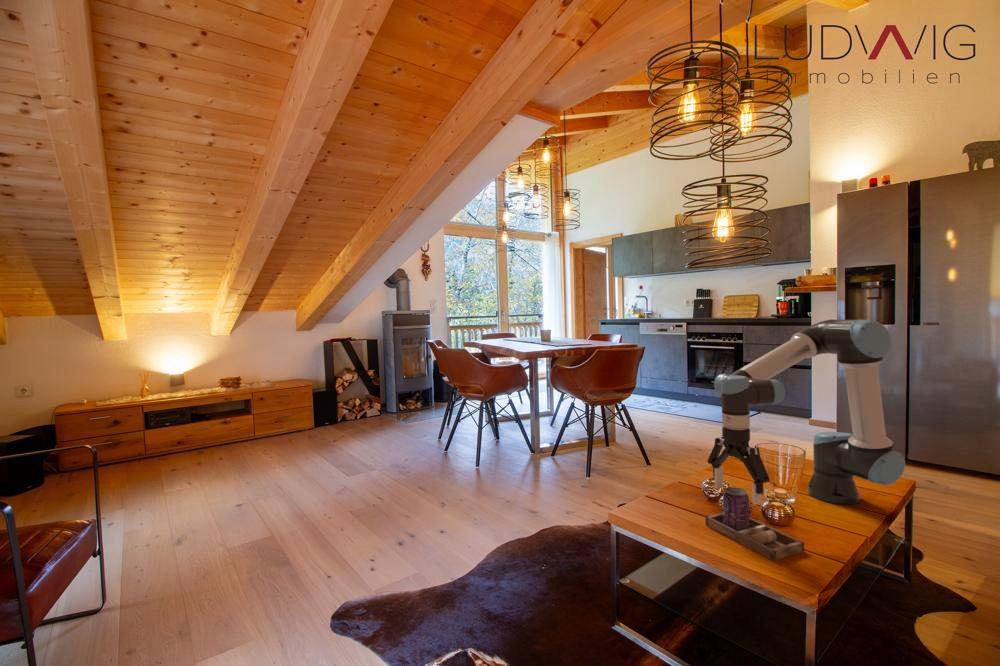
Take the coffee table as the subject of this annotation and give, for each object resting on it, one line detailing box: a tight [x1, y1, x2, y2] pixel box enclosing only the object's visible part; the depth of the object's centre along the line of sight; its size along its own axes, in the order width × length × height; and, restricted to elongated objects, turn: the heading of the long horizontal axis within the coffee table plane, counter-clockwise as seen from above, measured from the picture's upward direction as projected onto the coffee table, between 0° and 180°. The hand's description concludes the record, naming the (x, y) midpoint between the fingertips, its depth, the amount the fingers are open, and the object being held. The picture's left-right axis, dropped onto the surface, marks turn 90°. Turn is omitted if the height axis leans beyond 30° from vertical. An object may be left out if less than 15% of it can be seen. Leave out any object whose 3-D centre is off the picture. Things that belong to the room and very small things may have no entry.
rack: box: [705, 512, 805, 562], centre depth 135 cm, size 12×23×4 cm, turn 22°
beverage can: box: [722, 486, 750, 531], centre depth 140 cm, size 7×7×12 cm
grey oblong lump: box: [750, 530, 777, 544], centre depth 132 cm, size 7×3×3 cm
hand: (737, 495), depth 140 cm, fingers open, 13 cm apart
